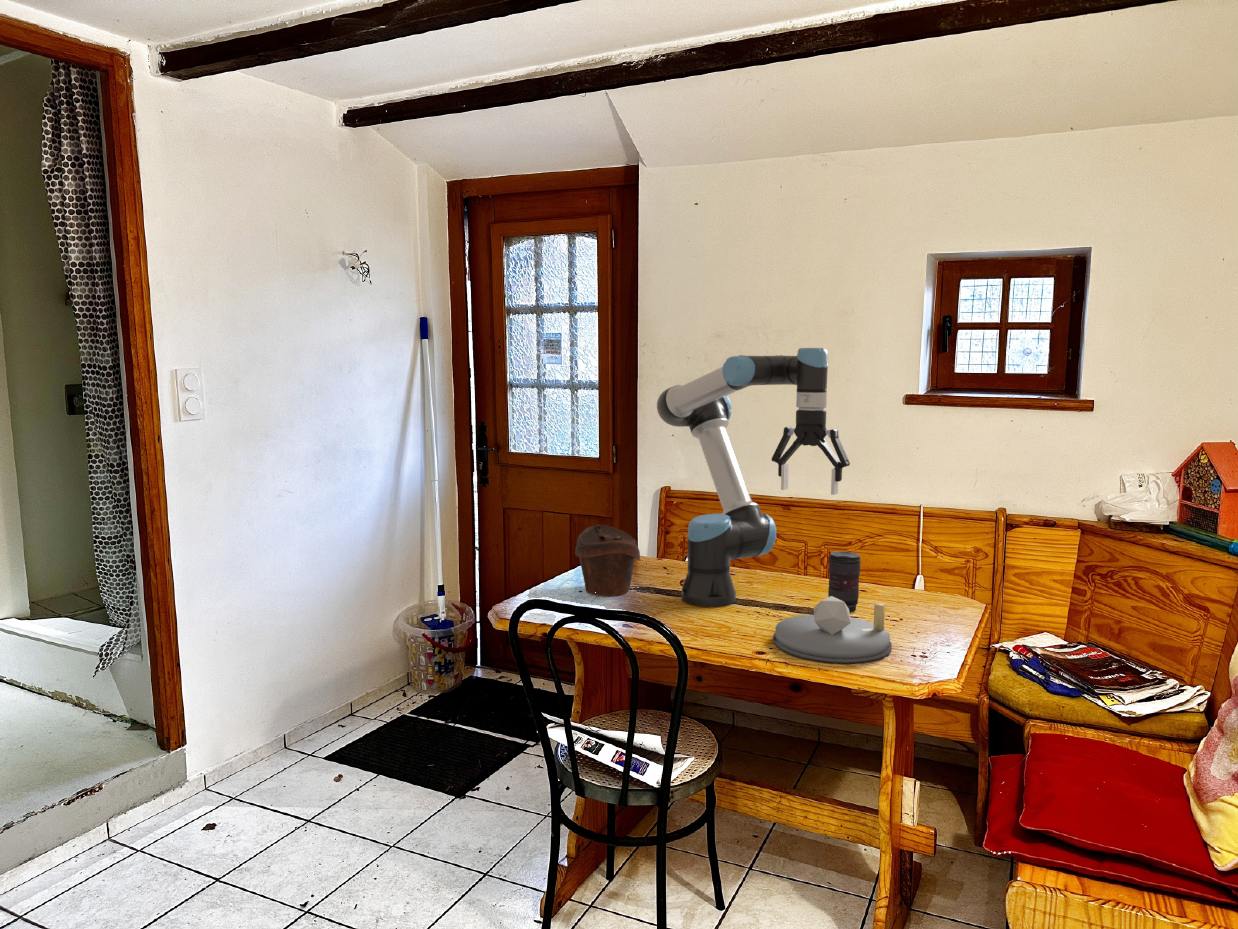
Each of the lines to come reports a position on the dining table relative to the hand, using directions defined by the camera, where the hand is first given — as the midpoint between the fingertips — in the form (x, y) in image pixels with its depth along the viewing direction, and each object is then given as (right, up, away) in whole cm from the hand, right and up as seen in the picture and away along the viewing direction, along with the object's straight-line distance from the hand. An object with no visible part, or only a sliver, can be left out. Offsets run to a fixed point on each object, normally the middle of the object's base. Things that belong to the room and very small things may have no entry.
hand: (808, 491), depth 219 cm
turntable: (+1, -34, -19) cm, 39 cm away
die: (+1, -32, -19) cm, 37 cm away
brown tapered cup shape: (-52, -30, +27) cm, 66 cm away
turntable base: (+1, -35, -18) cm, 40 cm away
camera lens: (+11, -32, +10) cm, 35 cm away
